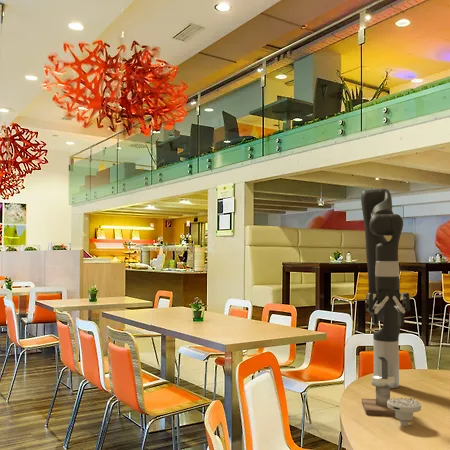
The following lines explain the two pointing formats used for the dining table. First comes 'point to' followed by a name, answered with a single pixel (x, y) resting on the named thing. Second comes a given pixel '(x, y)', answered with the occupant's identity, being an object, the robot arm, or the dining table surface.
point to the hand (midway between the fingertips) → (388, 325)
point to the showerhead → (404, 409)
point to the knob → (382, 375)
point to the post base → (374, 408)
